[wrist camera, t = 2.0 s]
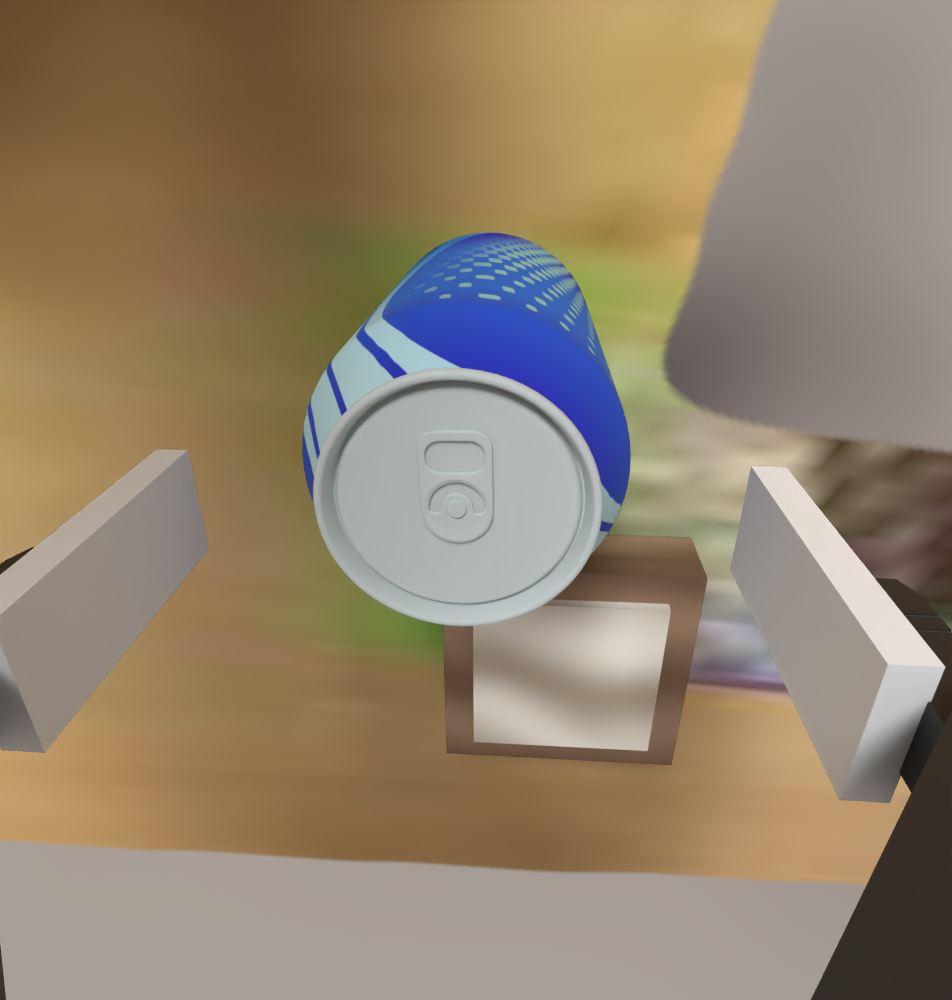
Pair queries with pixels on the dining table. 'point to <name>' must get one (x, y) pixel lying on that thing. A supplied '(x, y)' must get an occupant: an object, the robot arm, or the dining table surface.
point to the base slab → (584, 662)
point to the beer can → (469, 437)
